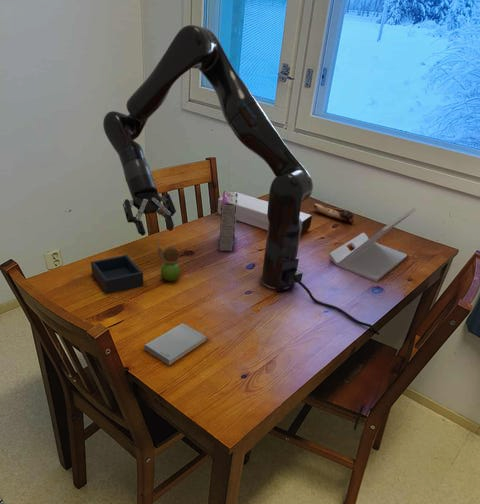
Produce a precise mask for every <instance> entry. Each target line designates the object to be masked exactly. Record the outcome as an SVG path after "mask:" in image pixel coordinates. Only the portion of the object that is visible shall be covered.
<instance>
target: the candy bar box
mask: <svg viewBox="0 0 480 504" xmlns="http://www.w3.org/2000/svg"><path fill="white" fill-rule="evenodd" d="M238 193H239V192H237V191H234V192H233V191H229V190H223V192H222V196H223V198H222V206H221V215H220V223H219V224H220V227H219V241H218V242H219V245H218V251H220V252H234V245H235V235H236V225H237V224H236V223H237V221H236V211H237V196H238Z"/></svg>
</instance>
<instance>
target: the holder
mask: <svg viewBox="0 0 480 504" xmlns="http://www.w3.org/2000/svg"><path fill="white" fill-rule="evenodd" d="M90 267H91V268H90V269H91V275H92V276H93V278H94V279H95V280H96V281H97V283H98V284H99V285H100V287H101V288H102V289H103V291H104V292H105V294H107V295H109V294H112V293H113V294H114V293H117V292H121V291H125V290H130V289H133V288H138V287H142V286H143V287H144V272H143V271H142V270H141V269H140V267H138V266H137V264H136V263H135V262H134V261H133V260H132V259H131V257H129V256H128V255H127V254H123V255H119V256H114V257H113V256H112V257H108V258H102V259H99V260H93V261H90Z"/></svg>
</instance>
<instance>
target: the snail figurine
mask: <svg viewBox="0 0 480 504" xmlns="http://www.w3.org/2000/svg"><path fill="white" fill-rule="evenodd" d="M156 245H157V247H156V250H157V253H158V257H159V259H160V261H161V262H162V263H164V264H162V266H161V268H160V274H161V277H162V278H163V279H164V280H165V281H168V282H174V281H175V280H177V279H178V278H179V277H180V275H181V269H180V267H179V265H178V264H177V263H178V262H180V251H179V249H178V248H176V246H169V247H166V248H165V249H164V250H163V246H161V245H160V243H159V241H156Z"/></svg>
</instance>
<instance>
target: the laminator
mask: <svg viewBox="0 0 480 504" xmlns="http://www.w3.org/2000/svg"><path fill="white" fill-rule="evenodd" d="M232 192H235V191H232ZM222 198H223V195H222V196H220V197H218V198H217V207H216V212H217V214H218V215H219V216H221V206H222ZM267 211H268V200H267V201H266V200H263V199H260V198H257V197H253V196H250V195H246V194H243V193H240V192H238V196H237V211H236V222H240V223H242V224H245V225H248V226H252V227H255V228H257V229H260V230H263V231H267V232H268V225H269V221H268V217H267ZM299 218H300V219H301V220H302V231H301V235H303V234H304V233H305V232H307V231H308V230H310V228H311V225H312V219H313V215H312V214H309V213H307V212H302V211H300V217H299Z"/></svg>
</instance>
